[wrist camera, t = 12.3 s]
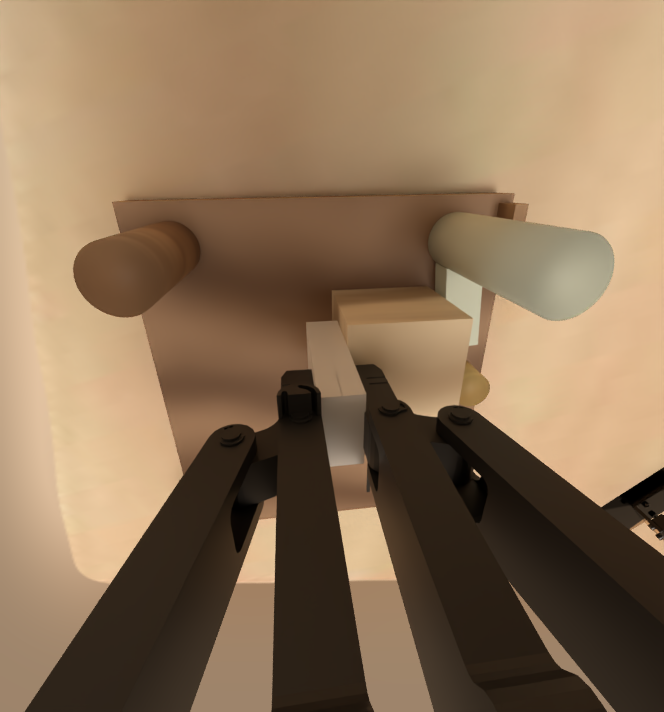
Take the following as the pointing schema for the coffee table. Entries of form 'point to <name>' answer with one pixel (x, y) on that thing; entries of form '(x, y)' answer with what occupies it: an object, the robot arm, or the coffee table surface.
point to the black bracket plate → (641, 505)
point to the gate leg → (518, 265)
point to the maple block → (408, 341)
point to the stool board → (264, 295)
